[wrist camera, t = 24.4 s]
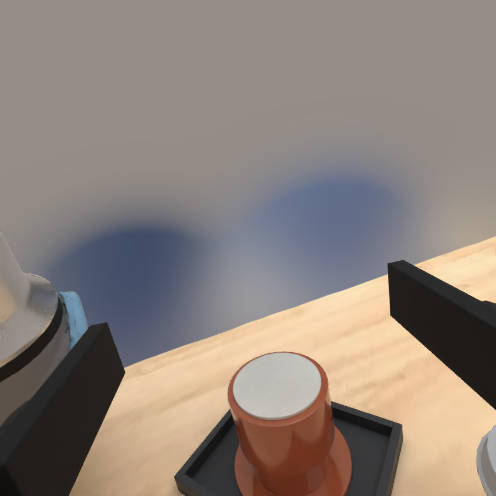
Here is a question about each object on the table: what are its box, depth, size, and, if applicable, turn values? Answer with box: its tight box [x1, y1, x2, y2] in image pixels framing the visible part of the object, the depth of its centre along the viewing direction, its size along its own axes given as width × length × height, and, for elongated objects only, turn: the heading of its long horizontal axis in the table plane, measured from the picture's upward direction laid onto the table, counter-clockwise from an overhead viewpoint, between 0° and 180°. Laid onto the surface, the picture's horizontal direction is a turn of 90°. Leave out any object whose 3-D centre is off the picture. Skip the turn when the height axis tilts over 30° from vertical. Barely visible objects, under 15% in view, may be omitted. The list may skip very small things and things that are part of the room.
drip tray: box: [174, 401, 403, 496], centre depth 31 cm, size 19×16×2 cm
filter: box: [228, 352, 352, 496], centre depth 30 cm, size 13×12×10 cm
